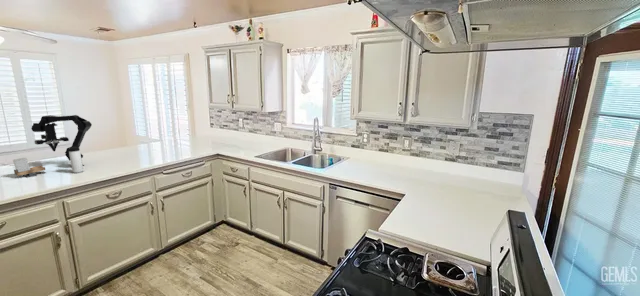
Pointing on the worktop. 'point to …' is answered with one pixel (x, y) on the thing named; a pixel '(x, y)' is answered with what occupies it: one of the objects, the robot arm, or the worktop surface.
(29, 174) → the pivot stand
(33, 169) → the walnut beam
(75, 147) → the travel mug
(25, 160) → the block
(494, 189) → the worktop surface
